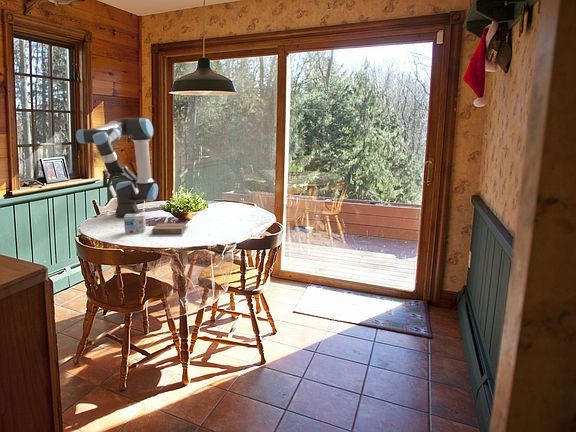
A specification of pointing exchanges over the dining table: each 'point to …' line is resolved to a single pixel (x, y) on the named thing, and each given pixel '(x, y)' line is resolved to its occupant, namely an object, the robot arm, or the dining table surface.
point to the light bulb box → (134, 223)
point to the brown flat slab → (168, 234)
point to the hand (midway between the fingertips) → (126, 194)
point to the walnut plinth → (169, 228)
